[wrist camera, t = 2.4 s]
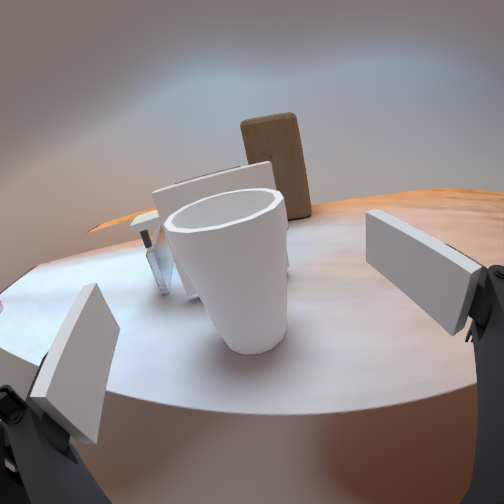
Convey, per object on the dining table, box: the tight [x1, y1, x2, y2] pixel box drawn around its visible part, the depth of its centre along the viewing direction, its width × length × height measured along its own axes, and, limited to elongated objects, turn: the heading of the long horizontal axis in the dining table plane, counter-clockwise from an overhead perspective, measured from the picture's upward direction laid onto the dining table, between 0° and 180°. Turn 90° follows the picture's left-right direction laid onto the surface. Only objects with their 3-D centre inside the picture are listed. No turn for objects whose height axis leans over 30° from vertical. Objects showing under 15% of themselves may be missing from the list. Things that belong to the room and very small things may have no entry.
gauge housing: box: [146, 166, 241, 295], centre depth 39 cm, size 18×17×12 cm
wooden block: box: [240, 112, 311, 220], centre depth 51 cm, size 10×10×20 cm
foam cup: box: [163, 188, 289, 354], centre depth 24 cm, size 10×9×13 cm
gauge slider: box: [130, 161, 289, 296], centre depth 32 cm, size 6×17×13 cm, turn 102°
